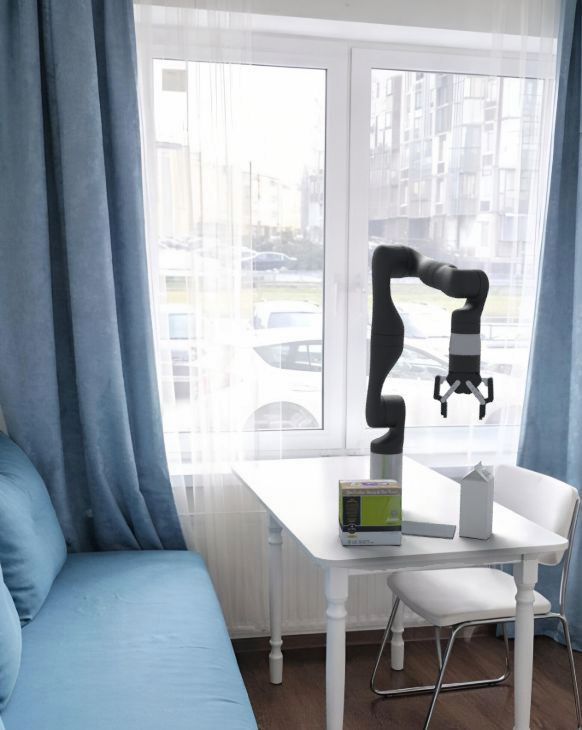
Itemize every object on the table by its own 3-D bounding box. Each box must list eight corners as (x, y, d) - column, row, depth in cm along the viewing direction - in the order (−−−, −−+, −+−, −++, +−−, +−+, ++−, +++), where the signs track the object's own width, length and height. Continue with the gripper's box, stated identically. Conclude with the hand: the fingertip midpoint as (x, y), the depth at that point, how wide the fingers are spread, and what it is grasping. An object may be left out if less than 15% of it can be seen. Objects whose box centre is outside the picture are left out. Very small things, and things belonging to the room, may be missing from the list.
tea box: (395, 533, 215) (396, 478, 213) (401, 546, 205) (403, 487, 203) (337, 533, 214) (338, 478, 213) (341, 546, 204) (342, 487, 203)
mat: (385, 520, 227) (385, 519, 226) (455, 526, 222) (455, 525, 221) (378, 532, 216) (378, 530, 216) (452, 538, 211) (452, 537, 211)
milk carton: (458, 536, 213) (461, 464, 211) (465, 529, 220) (467, 458, 218) (486, 540, 210) (489, 467, 208) (492, 532, 216) (494, 461, 215)
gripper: (496, 352, 201) (493, 417, 203) (437, 350, 205) (435, 414, 207) (494, 354, 194) (491, 422, 196) (433, 352, 198) (431, 419, 200)
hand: (462, 418), depth 201 cm, fingers open, 8 cm apart
